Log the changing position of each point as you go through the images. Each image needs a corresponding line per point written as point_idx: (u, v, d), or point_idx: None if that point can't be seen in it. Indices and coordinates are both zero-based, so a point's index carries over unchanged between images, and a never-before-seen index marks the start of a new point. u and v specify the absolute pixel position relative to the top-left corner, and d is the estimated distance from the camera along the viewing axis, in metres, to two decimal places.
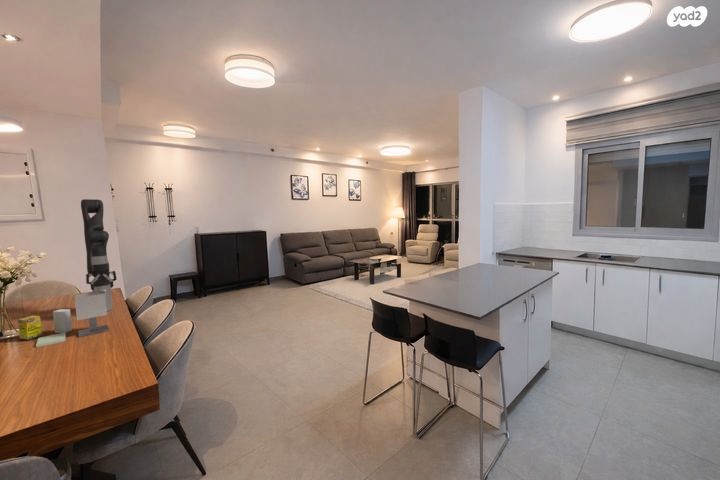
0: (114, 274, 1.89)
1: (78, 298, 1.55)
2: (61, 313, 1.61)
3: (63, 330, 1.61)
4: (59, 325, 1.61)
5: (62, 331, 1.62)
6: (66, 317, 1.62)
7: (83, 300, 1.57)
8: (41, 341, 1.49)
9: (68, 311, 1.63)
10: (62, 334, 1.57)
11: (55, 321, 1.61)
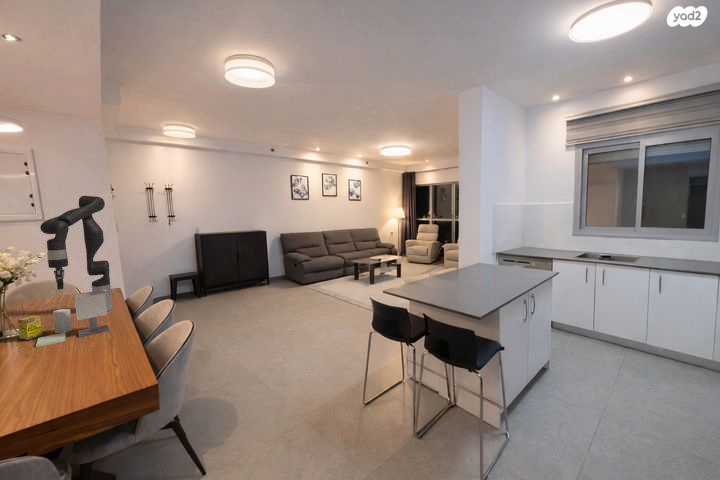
0: None
1: (78, 298, 1.55)
2: (61, 313, 1.61)
3: (63, 330, 1.61)
4: (59, 325, 1.61)
5: (62, 331, 1.62)
6: (66, 317, 1.62)
7: (83, 300, 1.57)
8: (41, 341, 1.49)
9: (68, 311, 1.63)
10: (62, 334, 1.57)
11: (55, 321, 1.61)
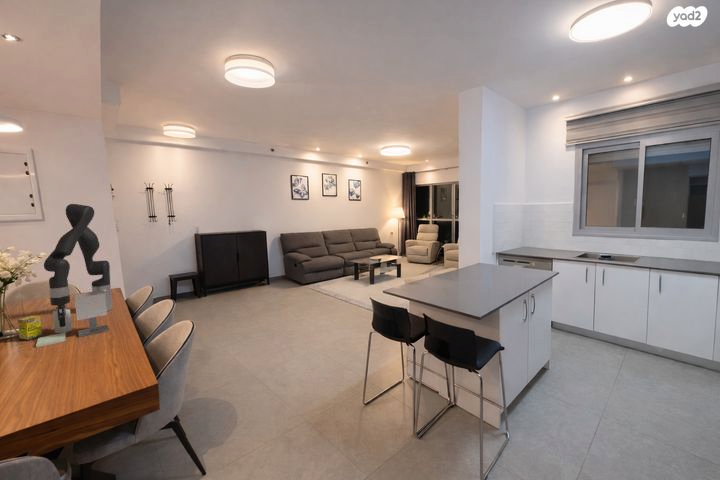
0: None
1: (78, 298, 1.55)
2: None
3: (63, 330, 1.61)
4: (59, 325, 1.61)
5: (62, 331, 1.62)
6: (66, 317, 1.62)
7: (83, 300, 1.57)
8: (41, 341, 1.49)
9: (68, 311, 1.63)
10: (62, 334, 1.57)
11: (55, 321, 1.61)
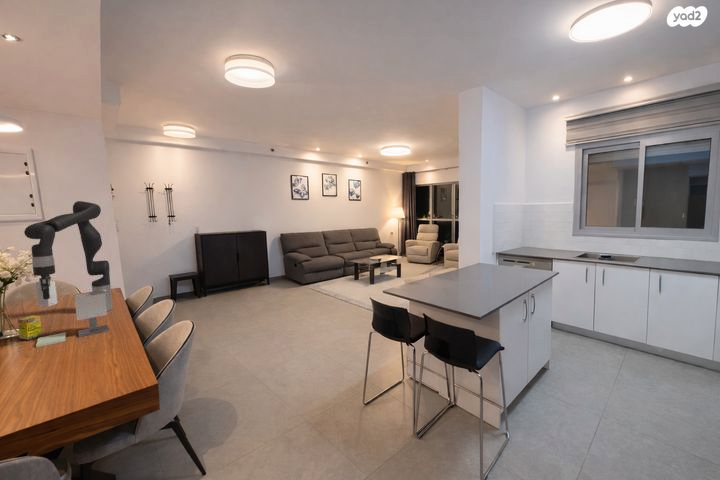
0: None
1: (78, 298, 1.55)
2: None
3: (47, 303, 1.48)
4: None
5: (46, 304, 1.48)
6: (50, 288, 1.49)
7: (83, 300, 1.57)
8: (41, 341, 1.49)
9: (53, 282, 1.50)
10: (62, 334, 1.57)
11: (38, 293, 1.48)
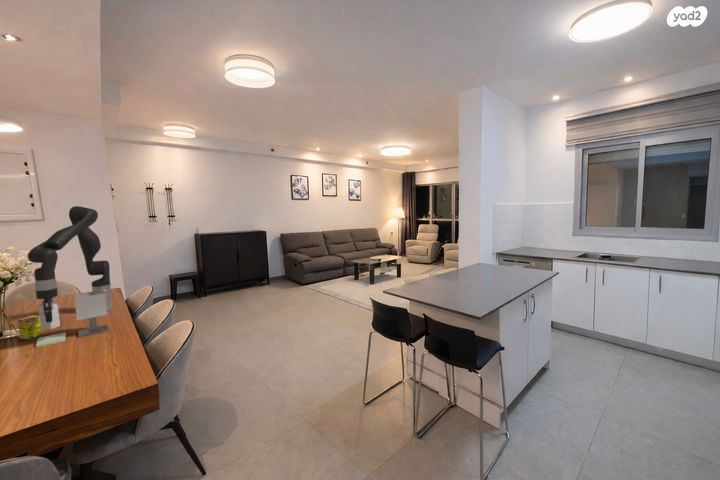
0: None
1: (78, 298, 1.55)
2: None
3: (50, 326, 1.49)
4: None
5: (49, 327, 1.50)
6: (53, 311, 1.50)
7: (83, 300, 1.57)
8: (41, 341, 1.49)
9: (55, 305, 1.51)
10: (62, 334, 1.57)
11: (41, 316, 1.49)
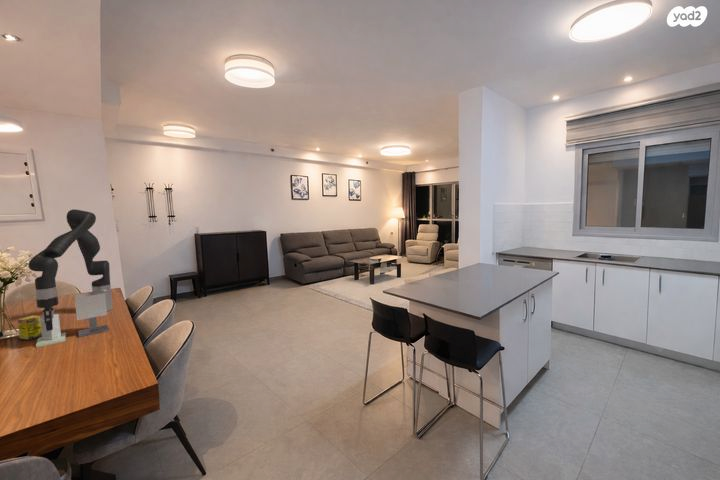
0: (52, 308, 1.56)
1: (78, 298, 1.55)
2: None
3: (51, 337, 1.50)
4: (47, 331, 1.50)
5: (50, 338, 1.50)
6: (54, 322, 1.51)
7: (83, 300, 1.57)
8: (41, 341, 1.49)
9: (56, 316, 1.52)
10: (62, 334, 1.57)
11: (42, 327, 1.50)
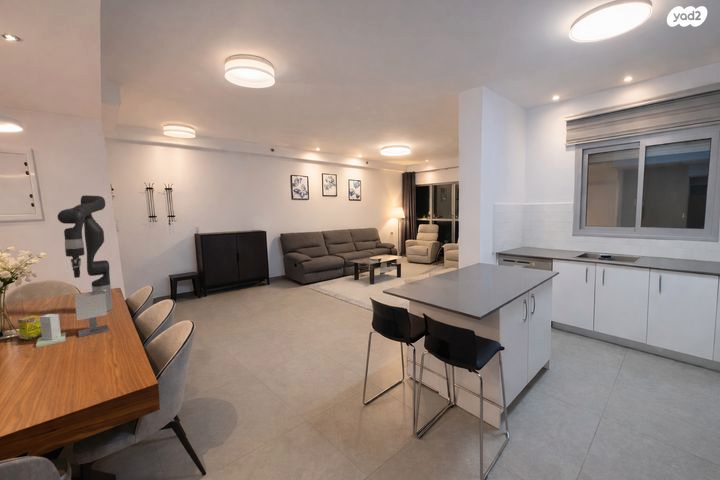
0: None
1: (78, 298, 1.55)
2: (49, 318, 1.49)
3: (51, 337, 1.50)
4: (47, 331, 1.50)
5: (50, 338, 1.50)
6: (54, 322, 1.51)
7: (83, 300, 1.57)
8: (41, 341, 1.49)
9: (56, 316, 1.52)
10: (62, 334, 1.57)
11: (42, 327, 1.50)
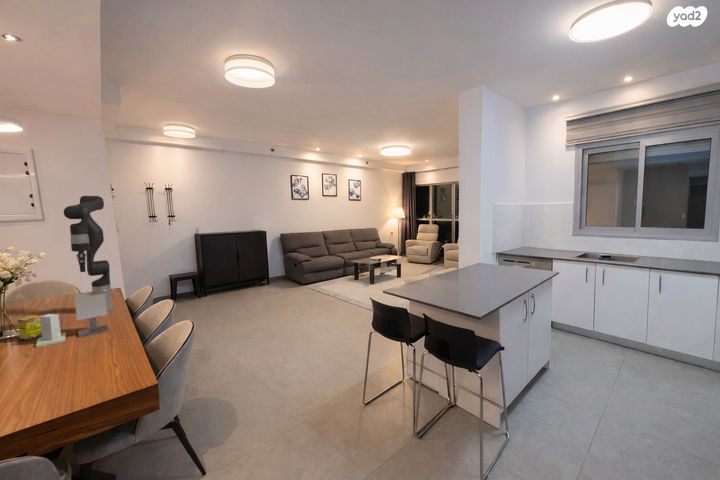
0: None
1: (78, 298, 1.55)
2: (49, 318, 1.49)
3: (51, 337, 1.50)
4: (47, 331, 1.50)
5: (50, 338, 1.50)
6: (54, 322, 1.51)
7: (83, 300, 1.57)
8: (41, 341, 1.49)
9: (56, 316, 1.52)
10: (62, 334, 1.57)
11: (42, 327, 1.50)
